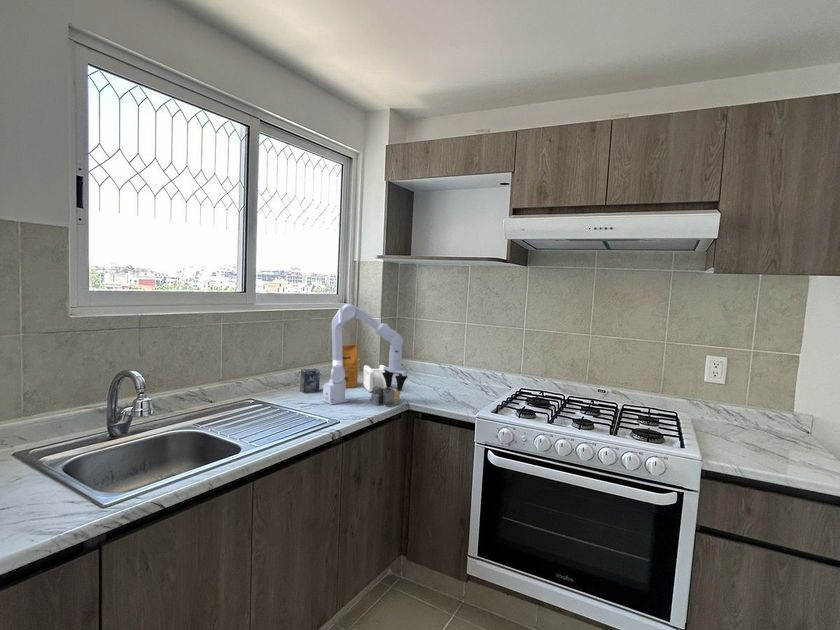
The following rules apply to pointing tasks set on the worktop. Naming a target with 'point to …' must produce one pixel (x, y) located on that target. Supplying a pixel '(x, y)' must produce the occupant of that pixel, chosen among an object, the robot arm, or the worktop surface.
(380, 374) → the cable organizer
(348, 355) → the coffee package
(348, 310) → the robot arm
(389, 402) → the housing
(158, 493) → the worktop surface
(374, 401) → the plug
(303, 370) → the box
